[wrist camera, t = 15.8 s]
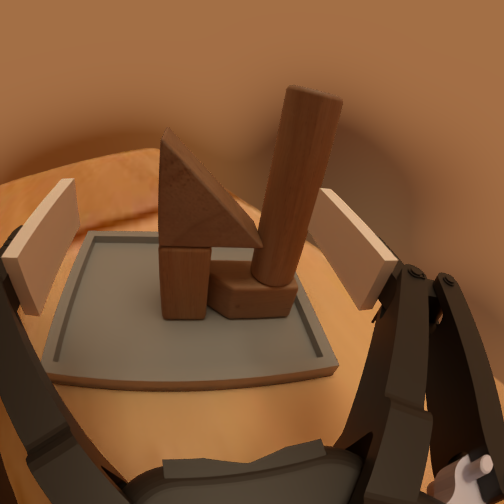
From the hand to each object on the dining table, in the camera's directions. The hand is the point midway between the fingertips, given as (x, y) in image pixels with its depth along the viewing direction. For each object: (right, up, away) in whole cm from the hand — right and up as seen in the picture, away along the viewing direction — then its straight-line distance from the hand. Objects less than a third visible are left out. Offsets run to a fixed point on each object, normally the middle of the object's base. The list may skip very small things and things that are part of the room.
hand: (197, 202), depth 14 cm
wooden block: (0, -7, +10) cm, 13 cm away
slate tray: (-3, -7, +11) cm, 13 cm away
